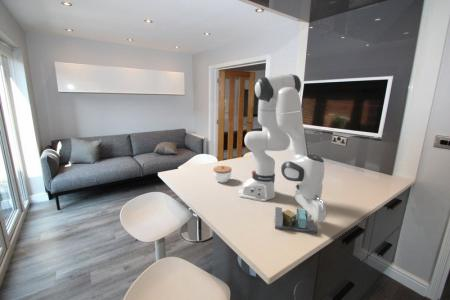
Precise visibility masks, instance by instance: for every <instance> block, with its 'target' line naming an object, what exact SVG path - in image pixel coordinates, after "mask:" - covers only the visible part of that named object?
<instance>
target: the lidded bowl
mask: <svg viewBox="0 0 450 300" xmlns="http://www.w3.org/2000/svg"><path fill="white" fill-rule="evenodd" d="M212 169H213V177H214V179H215V180H216V181H217V182H218V183H220V184H223V183H228V181H229V180H230V179H231V176H232V170H233V169H232V167H231V166H227V165H217V166H214V167H213V168H212Z"/></svg>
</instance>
